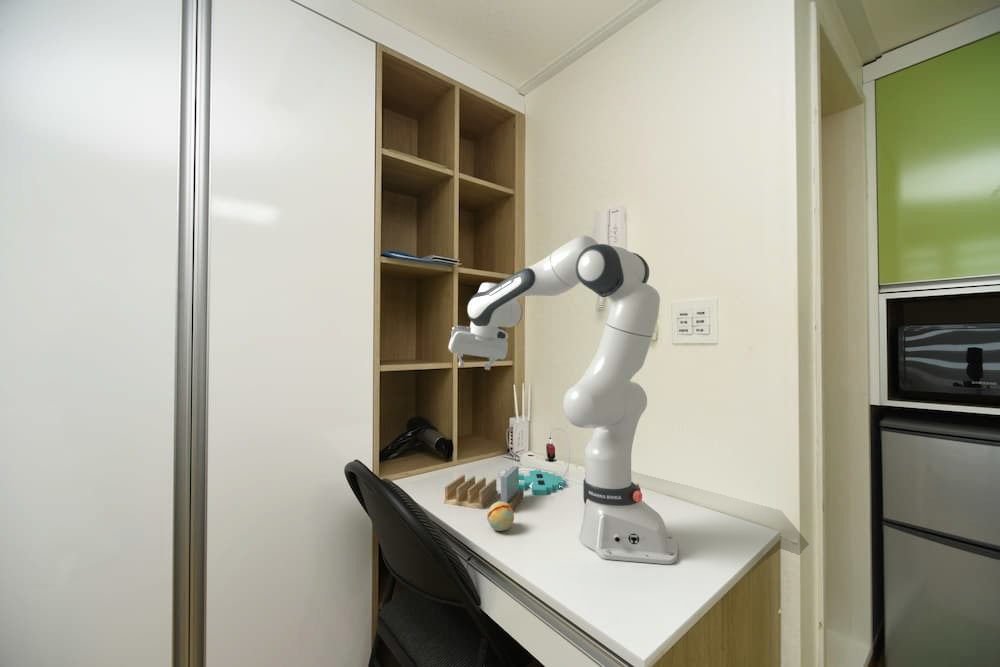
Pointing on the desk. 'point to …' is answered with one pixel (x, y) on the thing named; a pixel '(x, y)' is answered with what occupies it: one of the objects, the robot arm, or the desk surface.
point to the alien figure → (540, 482)
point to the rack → (470, 492)
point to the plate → (510, 484)
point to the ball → (500, 516)
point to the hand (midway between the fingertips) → (474, 367)
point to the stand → (516, 499)
